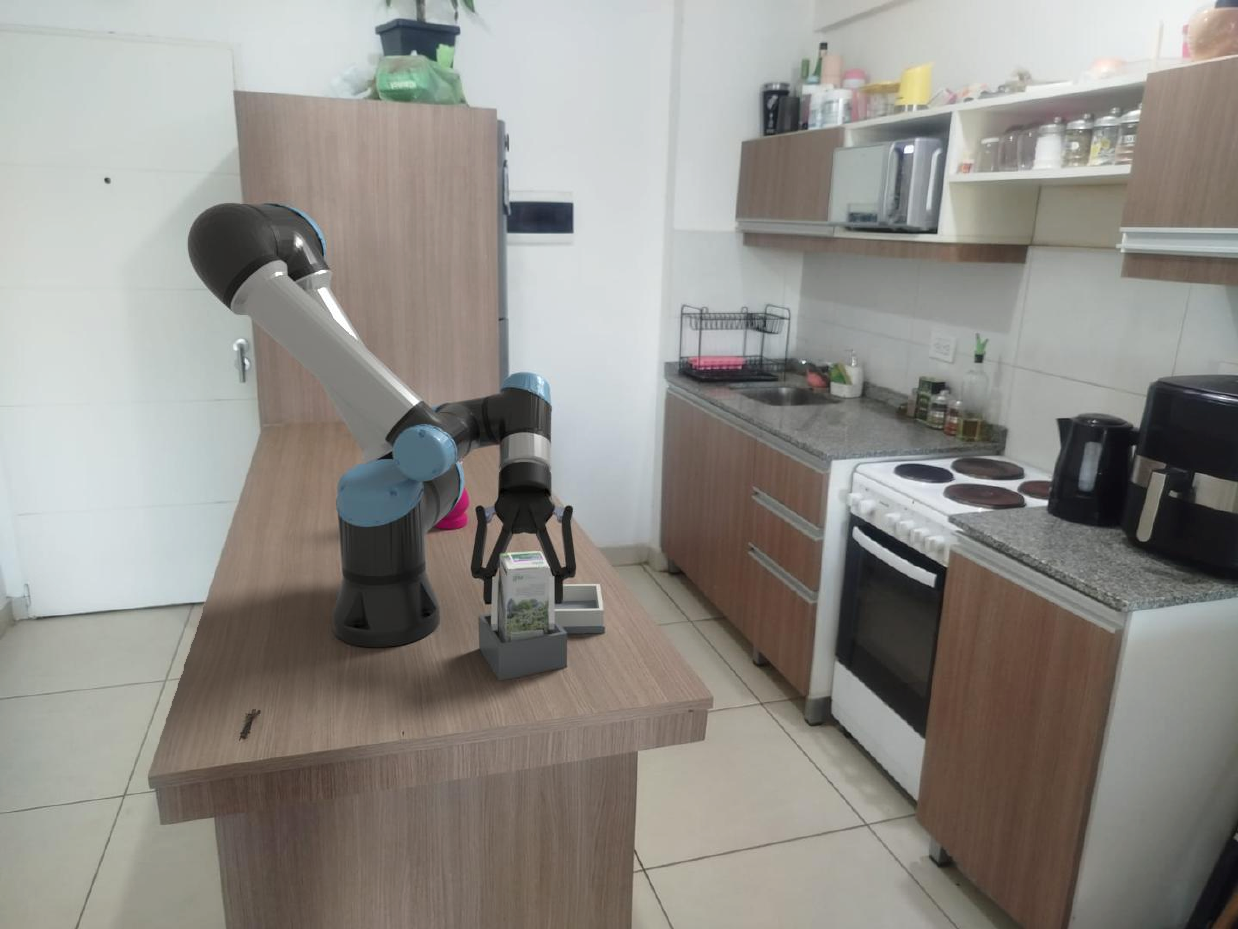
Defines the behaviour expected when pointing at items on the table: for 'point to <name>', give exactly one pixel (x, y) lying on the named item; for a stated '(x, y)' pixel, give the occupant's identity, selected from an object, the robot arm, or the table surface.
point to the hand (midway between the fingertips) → (523, 626)
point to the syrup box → (523, 595)
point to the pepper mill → (456, 514)
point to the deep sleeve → (522, 651)
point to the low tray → (581, 609)
